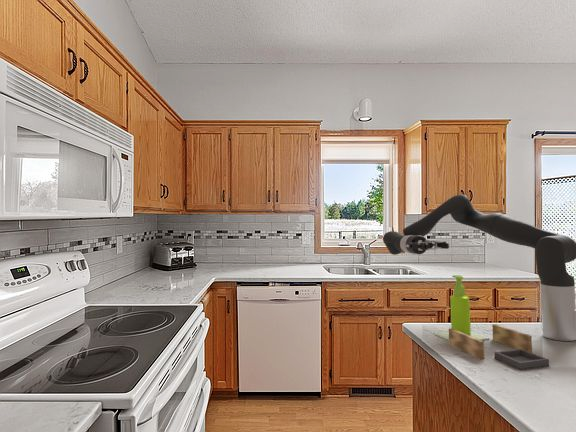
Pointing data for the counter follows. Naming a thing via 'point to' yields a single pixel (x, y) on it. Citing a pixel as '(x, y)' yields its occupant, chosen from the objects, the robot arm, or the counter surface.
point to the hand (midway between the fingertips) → (437, 246)
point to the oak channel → (499, 335)
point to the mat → (446, 335)
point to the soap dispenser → (460, 308)
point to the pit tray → (521, 359)
